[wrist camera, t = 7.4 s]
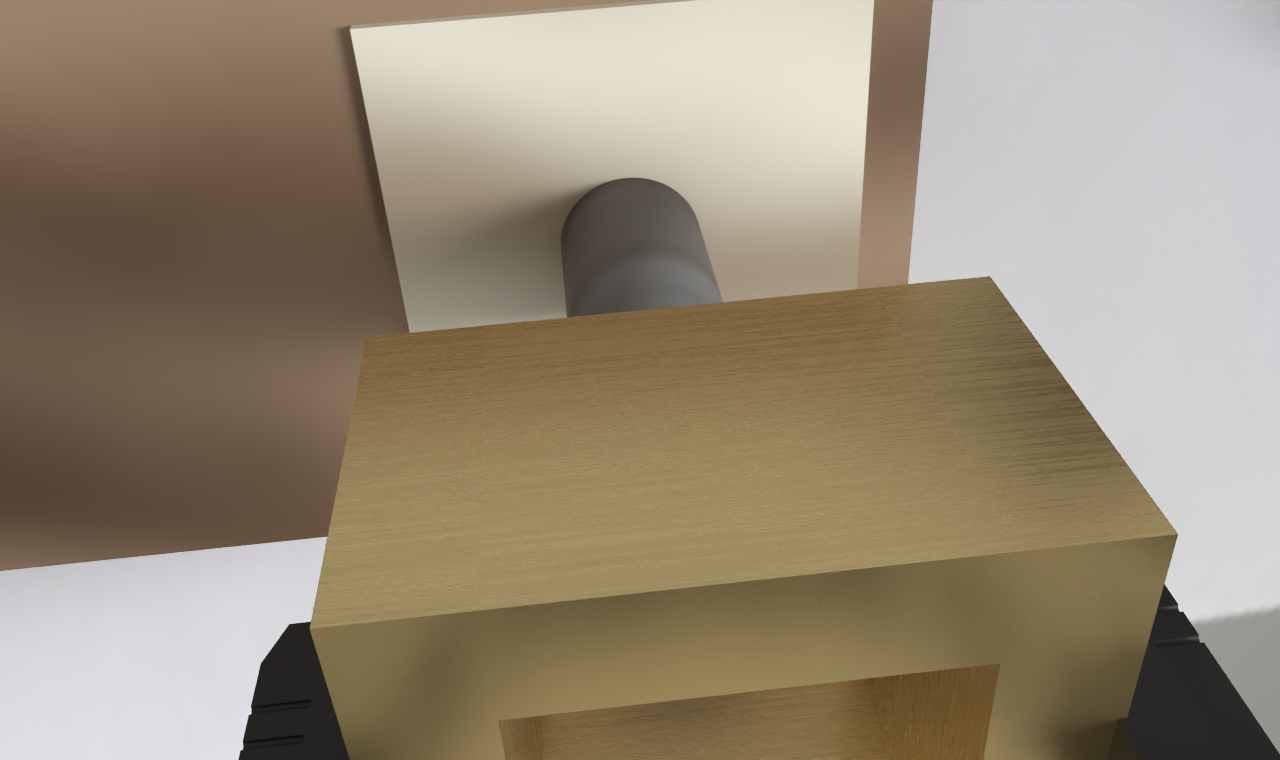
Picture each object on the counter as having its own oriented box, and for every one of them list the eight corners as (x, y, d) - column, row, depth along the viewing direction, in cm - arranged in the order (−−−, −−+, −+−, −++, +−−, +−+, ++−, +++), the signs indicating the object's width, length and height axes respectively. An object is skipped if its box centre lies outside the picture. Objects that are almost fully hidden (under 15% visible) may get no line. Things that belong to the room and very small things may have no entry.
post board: (-724, -397, 15) (-1696, -400, 8) (929, -501, 16) (1226, -575, 9) (-169, 526, 24) (-427, 874, 17) (864, 420, 25) (993, 710, 18)
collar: (366, 336, 12) (309, 628, 8) (990, 276, 12) (1178, 534, 8) (458, 748, 15) (444, 1067, 12) (935, 693, 15) (1052, 989, 12)
